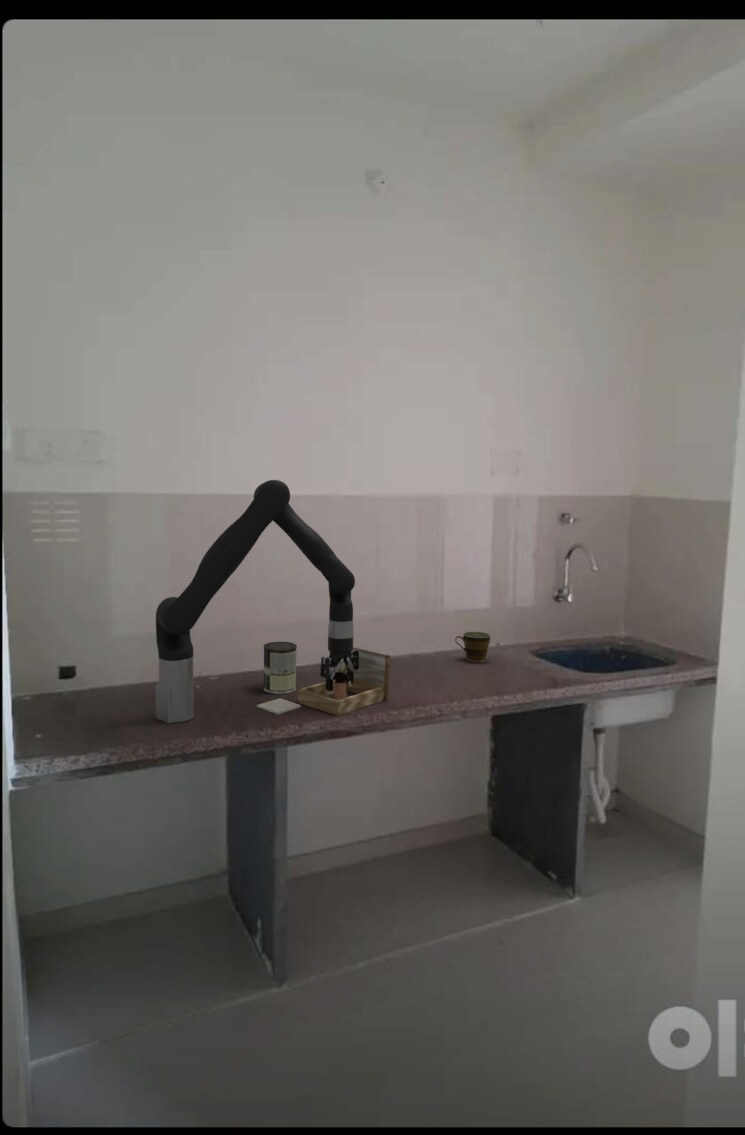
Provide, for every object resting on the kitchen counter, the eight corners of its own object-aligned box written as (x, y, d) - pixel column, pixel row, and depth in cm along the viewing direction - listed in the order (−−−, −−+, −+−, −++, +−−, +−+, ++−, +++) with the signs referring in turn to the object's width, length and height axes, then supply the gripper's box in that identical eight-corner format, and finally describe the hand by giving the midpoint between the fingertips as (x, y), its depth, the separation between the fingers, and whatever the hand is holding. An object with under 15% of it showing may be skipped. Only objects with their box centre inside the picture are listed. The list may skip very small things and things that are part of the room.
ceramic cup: (486, 657, 278) (487, 631, 276) (491, 664, 268) (493, 637, 266) (451, 657, 277) (453, 631, 275) (456, 664, 267) (457, 637, 266)
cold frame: (340, 716, 208) (341, 668, 206) (295, 701, 219) (296, 656, 218) (388, 700, 224) (390, 655, 222) (344, 687, 235) (345, 644, 234)
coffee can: (256, 690, 230) (256, 646, 228) (277, 682, 239) (277, 639, 237) (282, 696, 225) (283, 651, 223) (302, 687, 233) (303, 644, 232)
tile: (277, 714, 208) (277, 712, 208) (256, 707, 214) (256, 705, 214) (300, 707, 215) (300, 705, 215) (280, 700, 221) (280, 698, 220)
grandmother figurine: (352, 700, 222) (353, 659, 220) (351, 704, 218) (352, 663, 216) (327, 699, 223) (328, 658, 221) (325, 703, 219) (326, 661, 217)
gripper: (333, 640, 210) (332, 695, 212) (366, 633, 221) (364, 685, 223) (314, 636, 215) (313, 690, 217) (347, 628, 226) (346, 680, 228)
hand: (339, 687), depth 220 cm, fingers open, 8 cm apart
